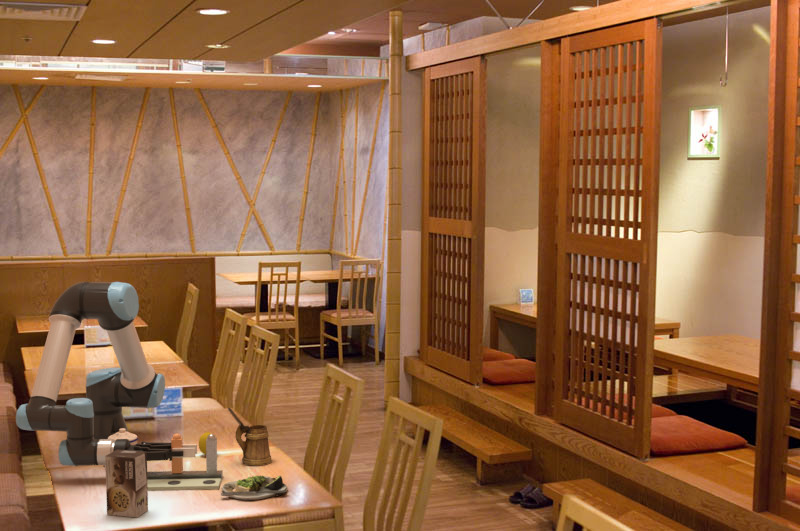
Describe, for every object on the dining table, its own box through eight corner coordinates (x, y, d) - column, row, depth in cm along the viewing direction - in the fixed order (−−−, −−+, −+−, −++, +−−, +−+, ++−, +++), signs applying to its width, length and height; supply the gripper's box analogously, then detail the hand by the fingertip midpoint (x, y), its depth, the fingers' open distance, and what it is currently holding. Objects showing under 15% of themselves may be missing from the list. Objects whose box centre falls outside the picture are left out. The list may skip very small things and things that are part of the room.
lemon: (195, 457, 305) (195, 432, 304) (204, 452, 310) (203, 428, 310) (211, 459, 303) (211, 434, 303) (219, 454, 309) (219, 430, 308)
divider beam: (130, 478, 283) (129, 433, 282) (222, 476, 285) (222, 432, 284) (128, 481, 280) (127, 436, 279) (221, 480, 282) (221, 435, 281)
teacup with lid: (138, 469, 292) (137, 431, 291) (107, 471, 290) (106, 433, 289) (138, 458, 304) (137, 422, 303) (108, 460, 301) (107, 423, 300)
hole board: (134, 483, 279) (134, 479, 278) (221, 481, 281) (221, 478, 281) (129, 490, 272) (129, 487, 272) (218, 489, 274) (218, 485, 274)
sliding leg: (173, 470, 284) (172, 432, 283) (182, 470, 284) (182, 432, 283) (171, 473, 281) (171, 434, 280) (181, 473, 281) (180, 434, 280)
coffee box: (149, 510, 256) (148, 451, 255) (136, 518, 250) (135, 457, 248) (118, 507, 258) (117, 448, 257) (105, 515, 252) (104, 455, 251)
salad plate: (233, 508, 259) (233, 492, 258) (206, 491, 273) (206, 475, 273) (296, 495, 270) (296, 479, 269) (267, 479, 284) (267, 464, 284)
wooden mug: (226, 460, 303) (226, 404, 301) (269, 457, 306) (269, 401, 305) (229, 468, 294) (229, 410, 292) (273, 464, 298) (273, 408, 296)
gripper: (120, 456, 289) (199, 455, 290) (109, 472, 273) (192, 471, 275) (120, 432, 288) (199, 431, 290) (108, 447, 272) (192, 445, 274)
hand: (195, 450), depth 282 cm, fingers closed on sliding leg, 3 cm apart
